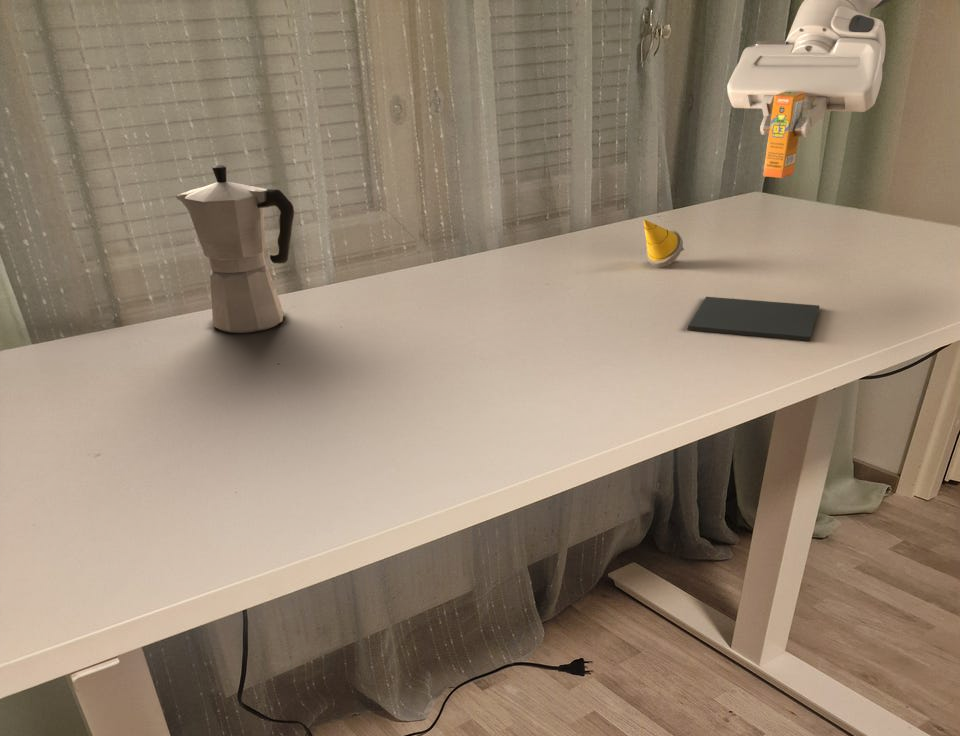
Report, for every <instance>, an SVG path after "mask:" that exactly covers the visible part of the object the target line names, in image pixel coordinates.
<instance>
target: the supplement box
mask: <svg viewBox="0 0 960 736" xmlns="http://www.w3.org/2000/svg"><path fill="white" fill-rule="evenodd" d="M804 99H805V93H799V92H783V93H779V94H777V95H774V101H773V109H772V114H771V115H770V116H771V123H770V130H769V135H768V138H767V145H766V150H765V151H766V153H765V159H764V166H763V173H762V176H763V177H766V178H767V177H769V178H777V179H784V178H787V177H789V176H792V175H793V174H794V172H795V165H796V158H797V151H798V143H799V138H800V137H798V136H795V134H796V133H795V126H796V124H797V121H798V119H799V117H803V112H804V110H803V106H804Z"/></svg>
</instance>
